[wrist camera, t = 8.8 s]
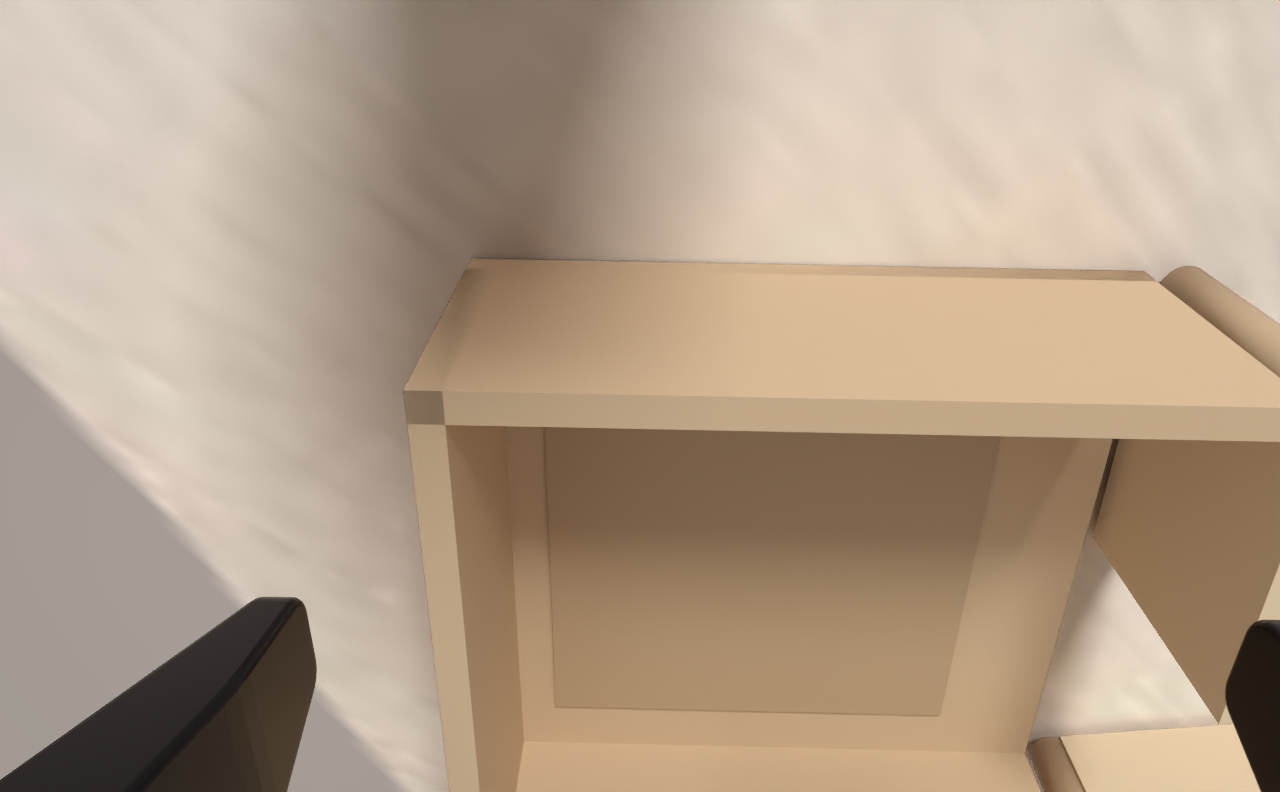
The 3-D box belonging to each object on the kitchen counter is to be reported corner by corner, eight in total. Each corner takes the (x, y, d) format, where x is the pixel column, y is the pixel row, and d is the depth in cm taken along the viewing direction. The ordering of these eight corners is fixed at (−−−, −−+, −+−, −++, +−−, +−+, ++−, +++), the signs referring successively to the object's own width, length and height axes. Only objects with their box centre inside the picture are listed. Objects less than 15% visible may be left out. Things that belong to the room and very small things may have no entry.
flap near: (1218, 266, 20) (1416, 397, 15) (1139, 537, 23) (1279, 724, 18) (1164, 265, 20) (1342, 397, 15) (1093, 536, 23) (1218, 724, 18)
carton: (1144, 270, 20) (1318, 408, 15) (1013, 751, 26) (1101, 967, 21) (470, 258, 20) (403, 390, 15) (506, 739, 27) (467, 950, 21)
